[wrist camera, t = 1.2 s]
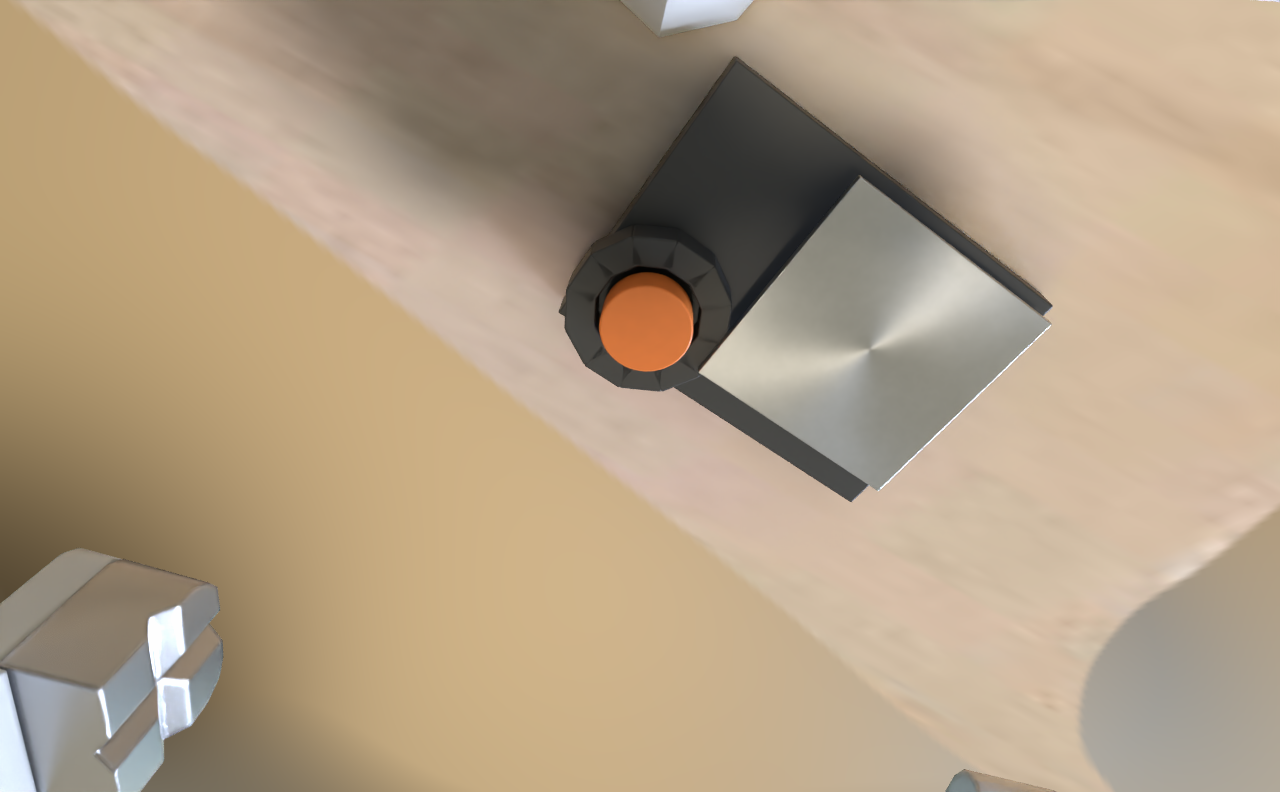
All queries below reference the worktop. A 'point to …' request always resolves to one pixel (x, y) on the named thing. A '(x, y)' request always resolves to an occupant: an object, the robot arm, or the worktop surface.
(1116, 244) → the worktop surface
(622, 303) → the button
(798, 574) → the worktop surface
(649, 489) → the worktop surface
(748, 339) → the weighing plate
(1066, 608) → the worktop surface
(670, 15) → the flask
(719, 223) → the scale
